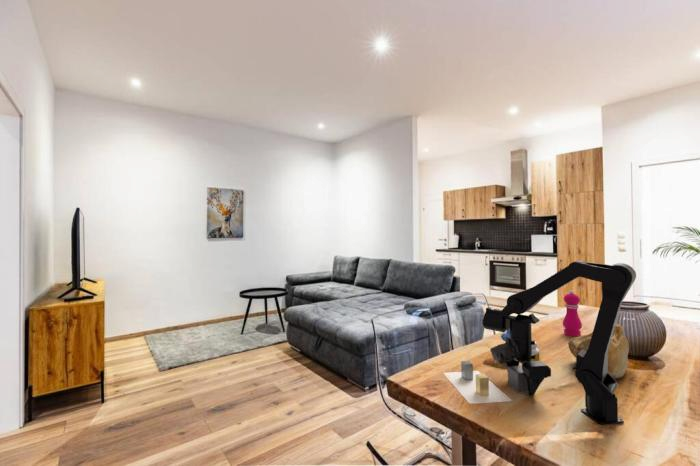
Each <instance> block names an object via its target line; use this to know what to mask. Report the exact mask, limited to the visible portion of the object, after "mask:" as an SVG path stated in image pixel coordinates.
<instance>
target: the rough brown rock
mask: <svg viewBox="0 0 700 466" xmlns="http://www.w3.org/2000/svg"><path fill="white" fill-rule="evenodd" d="M592 334H593V331H591V333H589V334H585V335H580V336H575V337H573V338H571V339H569V341H568V343H567V346H568V349H569V351H570V353H571V354H572V355H573V356H574V358H575V359H576V358H577V354H578V353H579V352H580V351H581V350H582V349H584V350H585V351H587V350H588V348H589V344H590V341H591V337H592ZM629 347H630V346H629V341H628V339H627V336H626V332H625V330H624V328H623V326H622V325H621V324H619V323H616V324H615V328H614V331H613V335H612V338H611V342H610V345H609V349H608V353H607V354H608V373H609V374H610V375H611V376H612V377H613V378H614V379H615V380H616V379H620V378H623V377H624V375H625V373H626V371H627V368H628V366H629V359H628V357H629V355H628V354H629V352H630V350H629V349H630V348H629Z"/></svg>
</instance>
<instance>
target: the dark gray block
mask: <svg viewBox="0 0 700 466" xmlns="http://www.w3.org/2000/svg"><path fill="white" fill-rule="evenodd" d="M522 373H524V372H523V370H522V365H519V366H508V371H507V384H508V386H509V387H510V388H512V389H513V390H514V391H515V392H517V393H528V386H527V378H526V377H525V376H524V375H523V374H522Z"/></svg>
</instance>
